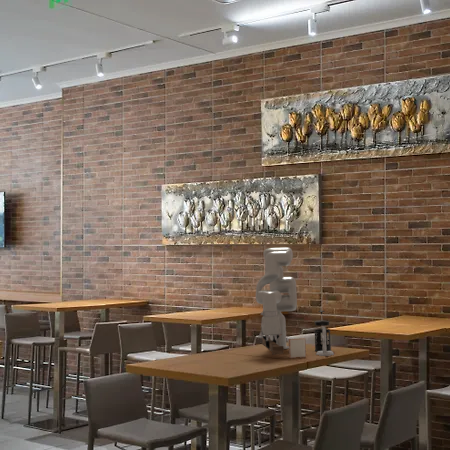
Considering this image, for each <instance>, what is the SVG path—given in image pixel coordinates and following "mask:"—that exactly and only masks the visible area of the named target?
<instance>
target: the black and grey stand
mask: <svg viewBox="0 0 450 450" xmlns="http://www.w3.org/2000/svg"><path fill="white" fill-rule="evenodd" d="M322 328H323V336H322V335H321V339H322V340H323V341H322V344H323V351H318V352H316V353H315V356H317V355H319V357H329V356H330V357H331V355H332V356H334V355H335V354H334V352H333V350H331V351H327V347H326V329H327V328H326V326H322Z"/></svg>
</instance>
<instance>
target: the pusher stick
mask: <svg viewBox="0 0 450 450" xmlns="http://www.w3.org/2000/svg"><path fill="white" fill-rule="evenodd" d="M261 338H262V337H261ZM268 340H269V348H267V347H266V340H265V339H264V338H262V346H264V347H265V348H266V349H268V350H269V351H270V352H271V354H272V355H273V356H274V355H284V349H283V346H279V345H278V344H276V343H275V342H273V341H272V340H271V339H270V337H268Z"/></svg>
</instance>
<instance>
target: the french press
mask: <svg viewBox="0 0 450 450" xmlns="http://www.w3.org/2000/svg"><path fill="white" fill-rule="evenodd" d="M317 312H318V313H320V315H321V318H323V312H326V311H325V310H318V311H317ZM313 323H314V326H316V327H319V326H321V329H320V328H317V329H314V344H315V345H314V352H316V351H317V352H318V351H323V340H322V336H323V327H326V326H330V323H331V320H324V319H321V320H315V321H314V322H313ZM331 344H332V343H331V329H328V328H326V347H327V351H332V347H331ZM317 352H316V353H317Z"/></svg>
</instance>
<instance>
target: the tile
mask: <svg viewBox="0 0 450 450" xmlns="http://www.w3.org/2000/svg"><path fill="white" fill-rule="evenodd" d="M306 342H307V341H306V338H305V337H303V338H302V337H301V338H288V346H289V348H288V358H289V359H297V358H296V357H300V358H307V347H306Z"/></svg>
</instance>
